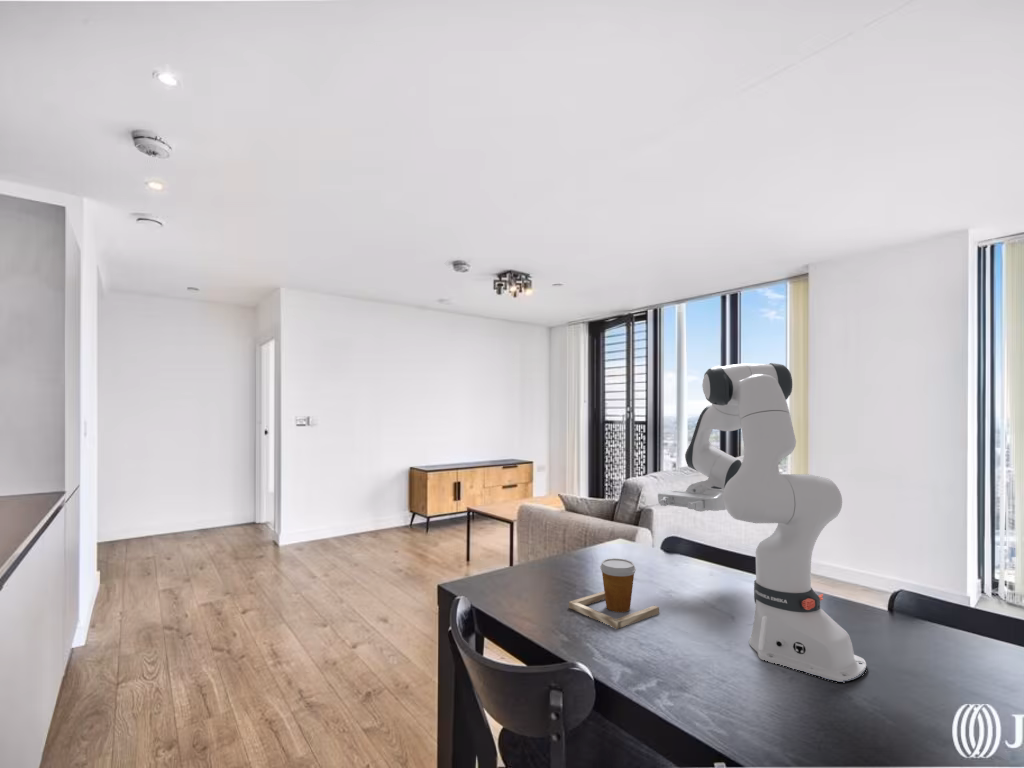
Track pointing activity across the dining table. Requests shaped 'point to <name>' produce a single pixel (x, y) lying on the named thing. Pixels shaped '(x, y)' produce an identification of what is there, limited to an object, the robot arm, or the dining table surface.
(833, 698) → the dining table surface
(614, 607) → the disposable coffee cup
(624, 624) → the cup bay
